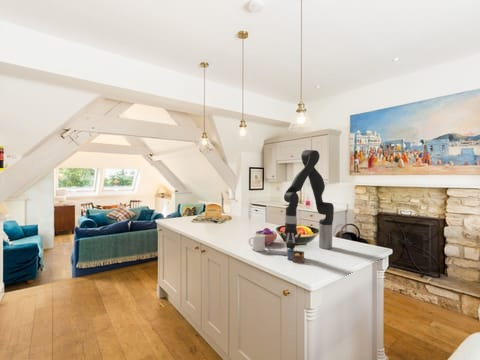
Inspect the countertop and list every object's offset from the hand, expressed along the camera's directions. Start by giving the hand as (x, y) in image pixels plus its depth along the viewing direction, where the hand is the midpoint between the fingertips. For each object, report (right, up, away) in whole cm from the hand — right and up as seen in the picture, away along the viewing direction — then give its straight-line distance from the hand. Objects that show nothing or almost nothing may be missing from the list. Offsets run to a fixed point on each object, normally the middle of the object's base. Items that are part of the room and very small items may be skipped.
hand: (290, 248), depth 169 cm
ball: (+3, -3, -9) cm, 10 cm away
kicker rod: (-1, -4, -4) cm, 6 cm away
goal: (+3, -5, -10) cm, 11 cm away
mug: (-22, -5, +12) cm, 26 cm away
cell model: (-13, -4, +29) cm, 33 cm away
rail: (-5, -5, +1) cm, 7 cm away
